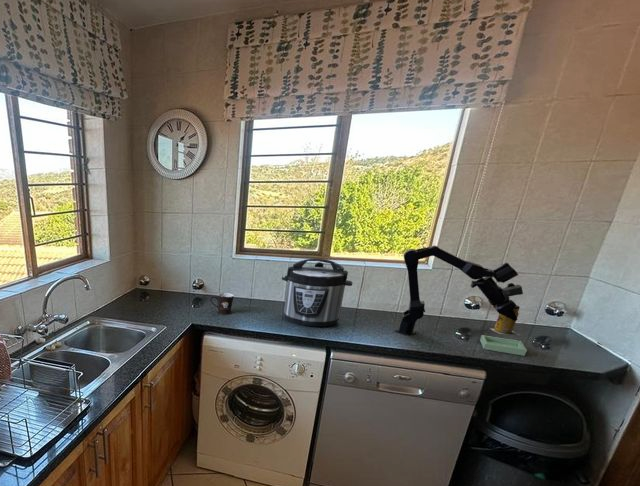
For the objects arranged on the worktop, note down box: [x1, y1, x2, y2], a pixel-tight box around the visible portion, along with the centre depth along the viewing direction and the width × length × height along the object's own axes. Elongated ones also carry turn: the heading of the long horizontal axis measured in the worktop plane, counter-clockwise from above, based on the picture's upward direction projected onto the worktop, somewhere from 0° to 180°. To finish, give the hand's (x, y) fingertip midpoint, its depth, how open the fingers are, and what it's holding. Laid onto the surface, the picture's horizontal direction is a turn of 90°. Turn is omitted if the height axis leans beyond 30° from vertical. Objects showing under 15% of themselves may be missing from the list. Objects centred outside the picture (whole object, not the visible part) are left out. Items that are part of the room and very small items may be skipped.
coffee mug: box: [209, 292, 235, 315], centre depth 219 cm, size 12×9×10 cm
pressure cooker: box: [281, 258, 353, 328], centre depth 203 cm, size 30×28×32 cm
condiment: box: [489, 305, 521, 336], centre depth 172 cm, size 7×8×12 cm
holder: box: [479, 334, 528, 357], centre depth 174 cm, size 14×13×3 cm
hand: (514, 318), depth 171 cm, fingers closed on condiment, 6 cm apart
